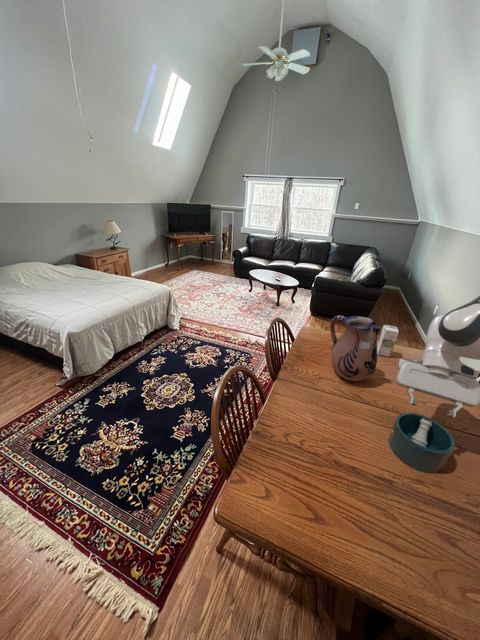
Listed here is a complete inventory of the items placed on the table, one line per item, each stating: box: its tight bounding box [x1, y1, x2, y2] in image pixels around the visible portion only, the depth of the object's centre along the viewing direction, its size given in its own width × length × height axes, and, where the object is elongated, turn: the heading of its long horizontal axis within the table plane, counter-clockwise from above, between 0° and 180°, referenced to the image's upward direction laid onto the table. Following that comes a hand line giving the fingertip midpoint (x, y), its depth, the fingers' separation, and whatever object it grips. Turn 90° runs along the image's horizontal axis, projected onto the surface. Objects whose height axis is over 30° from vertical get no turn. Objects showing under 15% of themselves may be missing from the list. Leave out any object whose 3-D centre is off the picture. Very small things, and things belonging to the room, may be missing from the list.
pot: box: [388, 412, 456, 474], centre depth 79 cm, size 15×15×8 cm
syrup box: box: [377, 324, 400, 358], centre depth 130 cm, size 6×6×14 cm
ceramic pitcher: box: [329, 315, 382, 382], centre depth 111 cm, size 18×21×25 cm
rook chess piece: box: [411, 418, 432, 448], centre depth 81 cm, size 4×4×8 cm
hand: (431, 410), depth 77 cm, fingers open, 8 cm apart
